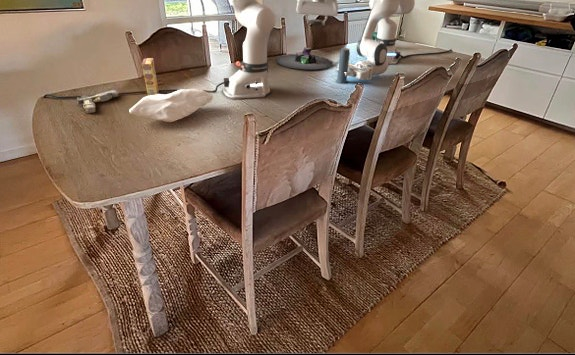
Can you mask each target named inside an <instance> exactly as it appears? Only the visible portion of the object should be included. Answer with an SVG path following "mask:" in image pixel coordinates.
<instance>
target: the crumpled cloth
mask: <svg viewBox="0 0 575 355" xmlns="http://www.w3.org/2000/svg"><path fill="white" fill-rule="evenodd" d="M204 90H205V89H201V88H187V89H186V88H183V89H181V90H177V91H172V92H171V93H167V94H163V93H158V94H156V95H150V96H148V95H146V96H144V97H142V98H141V99H140V100H139V101H138V102H137V103H136V104H134V105H133V106H132V107H131V108H129V114H130V115H135V116H140V117H145V118H146V119H149V120H152V121H155V120H158V121H163V122H166V123H174V122H176V121H178V120H181V119H183V118H185V117H188V116H190V115H192V114H193V113H195V112H196V111H197V110H199V109H200V108H202V107H204V106H206V105H207V104H210V102H211V101H212V100H213V99H214V98H213V97H214V96H213V94H212V93H211V92H206V91H207V90H206V91H204Z"/></svg>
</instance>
